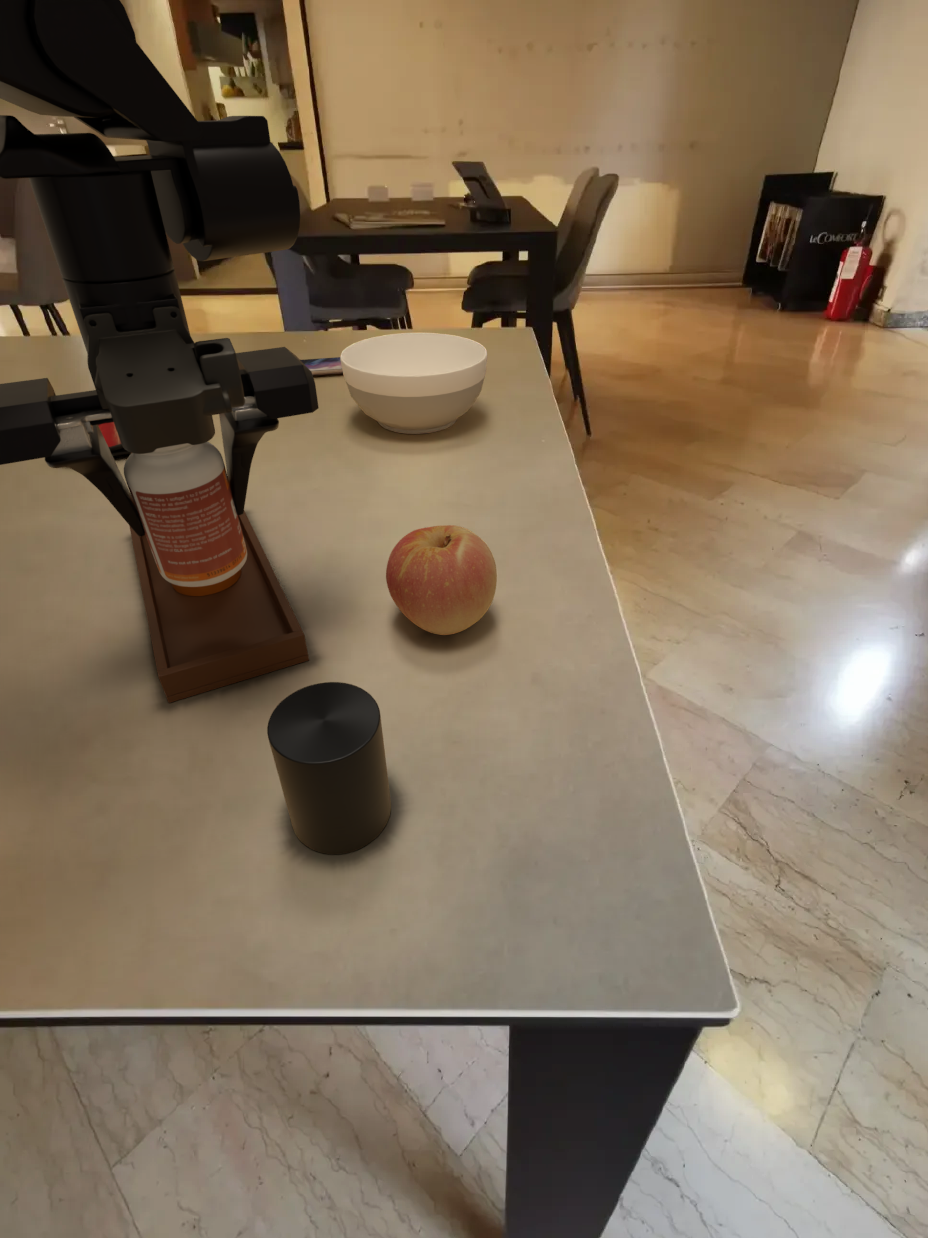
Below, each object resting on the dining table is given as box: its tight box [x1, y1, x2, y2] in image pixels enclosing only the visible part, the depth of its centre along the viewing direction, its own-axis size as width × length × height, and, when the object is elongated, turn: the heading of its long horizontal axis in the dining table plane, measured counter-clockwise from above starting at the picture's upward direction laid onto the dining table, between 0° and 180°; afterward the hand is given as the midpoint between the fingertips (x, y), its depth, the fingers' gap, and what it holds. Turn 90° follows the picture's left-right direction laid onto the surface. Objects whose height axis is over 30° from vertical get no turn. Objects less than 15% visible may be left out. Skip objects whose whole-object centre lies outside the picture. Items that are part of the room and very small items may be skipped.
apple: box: [385, 524, 498, 636], centre depth 53 cm, size 9×9×8 cm
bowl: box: [339, 332, 488, 435], centre depth 88 cm, size 19×19×9 cm
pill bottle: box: [123, 441, 247, 587], centre depth 45 cm, size 6×6×11 cm
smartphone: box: [300, 356, 343, 376], centre depth 107 cm, size 7×1×15 cm
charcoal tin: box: [266, 681, 392, 855], centre depth 38 cm, size 6×6×8 cm
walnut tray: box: [129, 510, 310, 704], centre depth 58 cm, size 26×10×3 cm, turn 26°
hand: (191, 522), depth 46 cm, fingers closed on pill bottle, 6 cm apart
